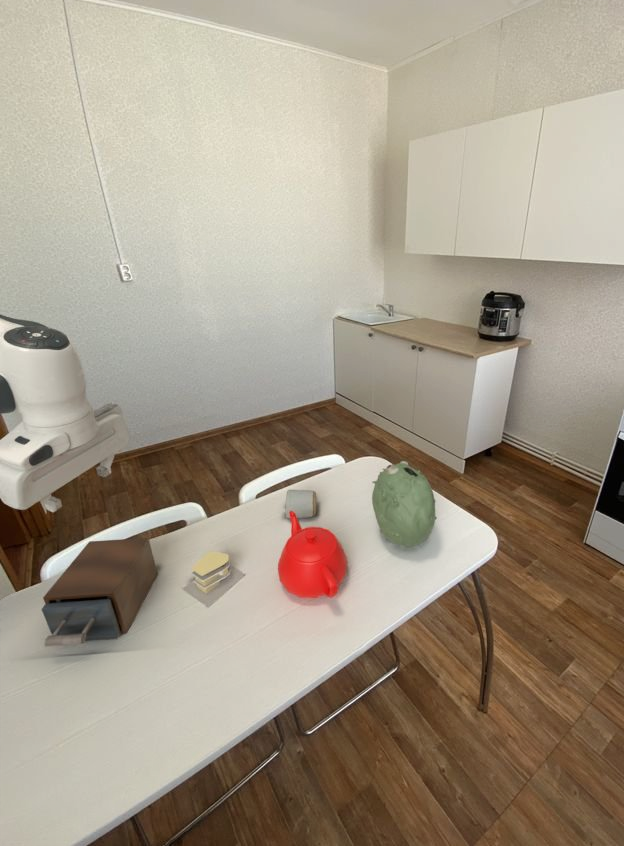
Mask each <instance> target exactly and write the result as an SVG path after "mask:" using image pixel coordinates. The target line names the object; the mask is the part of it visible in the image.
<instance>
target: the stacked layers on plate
mask: <svg viewBox="0 0 624 846" xmlns="http://www.w3.org/2000/svg"><path fill="white" fill-rule="evenodd" d="M190 570H192V572H191V575H192V576H194V578H193V580H191V581H190V582H189V583H187V584H186V585H185V586H183V587H182V589H183V590H184V591H185V592H186V593H188V594H189V595H191V596H192V597H193V598H195V599H196V600H198V601H199V602H201V603H202V604H203V605H205V606H206V607H207V608H209V607H210V606H211V605H213V604H214V603H215V602H216V601H217V600H219V598H221V597H222V596H223V595H224V594H225V593H226V592H227V591H228V590H230V589H231V588H232V587H233V586H234V585H235V584H237V583H238V582H239V581H240V580H241V579H243V577H245V575H246V574H245V573H243V572H242V571H240V570H238V569H237V568H235V567H234V566H232V565H230V558H229V555H228V554H226V553H222V552H218V551H210V552H207V553H206V554H205V555H204V556H202V557H201V558H200V559H199V560H198V561H197V562H196V563H195V564H194V565H193V566H192V567H191V568H190Z"/></svg>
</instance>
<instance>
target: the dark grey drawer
mask: <svg viewBox="0 0 624 846" xmlns="http://www.w3.org/2000/svg"><path fill="white" fill-rule="evenodd" d="M56 602H57V603H48V604H45V603H44V605H43V606H42V607H41V612H42V614H43V616H44V619H45V622H46V624H47V626H48V629H49V631H50V634H51V635H48V636H47V637H46V638H45V639H44V644H43V645H44V647H60V646H72V645H73V646H74V645H82V644H84V643H85V642H90V641H91V642H93V641H103V640H104V641H105V640H115V639H116V640H117V639H119V637H120V635H122V634H121V631H120V628H119V626H120V624H119V621H118V617H117V614H116V611H115V608H114V605H113V602H112V598H111V596H101V597H88V598H74V599H60V600H56Z"/></svg>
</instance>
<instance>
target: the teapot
mask: <svg viewBox="0 0 624 846" xmlns="http://www.w3.org/2000/svg"><path fill="white" fill-rule="evenodd" d="M289 514H290V518H289V519H290V524H291V526H290V527H291V528H290V530H291V531H290V536H289V538H288V539H287V540H286V543H285V544H284V547H283V548H282V551H281V553H280V557H279V560H278V563H277V572H278V578H279V582H280V584H281V585H282V586H283V588H284V589H285V590H286V592H288V593H290V594H292V595H293V596H295V597H298V598H300V599H301V598H302V599H316V598H320V597H322V596H326V597H327V598H330V599H332V598H334V597H336V596H337V595H338V593H339V586H340V585H341V583H342V582H343V580H344V579H345V577H346V574H347V570H348V569H347V568H348V558H347V555H346V552H345V551H344V548H343V546H342V544H341V542H340V540H339V539H338V538H337V536H336V535H335V534H334V533H333V532H331V530H330V529H327V528H324V527H321V526H308V527H305V528H302V526H301V523H300V521H299V519H298V518H297V516H296V514H295V513H294V512H293V511H290V512H289Z"/></svg>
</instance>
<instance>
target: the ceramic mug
mask: <svg viewBox="0 0 624 846" xmlns="http://www.w3.org/2000/svg"><path fill="white" fill-rule="evenodd" d="M290 511H293V512H294V513H295V514H296V516H297V519H298V518H299V519H300V518H301V519H303V518H312V517H315V516H316V514H317V492H316V491H315V490H311V489H287V491H286V495H285V517H286V519H290V514H289V512H290Z"/></svg>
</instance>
